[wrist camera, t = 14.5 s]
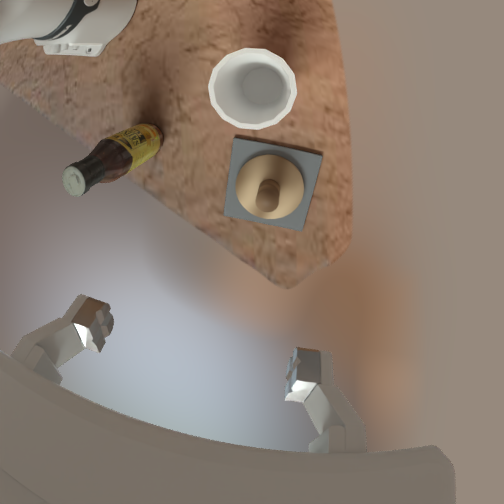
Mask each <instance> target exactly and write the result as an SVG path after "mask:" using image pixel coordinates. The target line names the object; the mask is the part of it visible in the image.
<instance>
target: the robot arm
mask: <svg viewBox="0 0 504 504" xmlns="http://www.w3.org/2000/svg"><path fill="white" fill-rule="evenodd" d="M136 3H137V0H0V44H3V43H6V42H11V41H15V40H21V39H28V38H33V39H34V41H35V44H36V45H37V46H39V45H43V48H44V51H45V53H46V54H56V55H79V56H92V57H96V56H99V55H100V54H101V52H102V51H103V50H104V48H105V46H106V45H107V43H108V42H109V41H110V40H112V39H113V38H114V37H115V36H117V35H118V34H119V33H120V32H121V31H122V30H123V29H124V28H125V26H126V25H127V24H128V22H129V21H130V19H131V17H132V15H133V13H134V10H135V7H136ZM90 49H91V52H90ZM110 309H111V308H110V305H109V304H108V303H105V302H102V301H99V300H96V299H94V298H91V297H88V296H85V295H82V294H80V295H79V296H77V298H76V299H75V301H74V302H73V303H72V305H71V306H70V308H69V309H68V310H67V312H66V313H65V315H64V316H63V318H58V319H56V320H54V321H52V322H50V323H48V324H46V325H44V326H42V327H41V328H38V329H36V330H35V331H33V332H31V333H29V334H27V335H25V336H23V337H22V339H21V340H20V342H19V343H18V345H17V346H16V348H15V349H14V351H13V353H12V354H11V356H9V355H8V354H6V353H5V352H3V351H2V350H0V504H455V502H456V484H455V471H454V466H453V464H452V463H451V461H450V460H449V459H448V458H447V456H446V455H445V454H444V453H443V452H442V451H441V450H440V449H439V448H438V447H437V446H434V445H430V446H423V447H416V448H409V449H401V450H392V451H381V452H367V449H366V448H367V447H366V430H365V424H364V423H363V421H362V420H361V419H360V417H359V416H358V414H357V413H356V412H355V410H354V409H353V407H352V406H351V405H350V403H349V402H348V400H347V399H346V398H345V396H344V395H343V393H342V392H341V391H340V389H339V388H338V386H335V385H334V381H333V363H332V354H331V352H327V351H319V350H315V349H306V348H299V347H296V348H295V349H294V351H293V357H290V359H289V362H288V365H287V370H286V379H287V380H288V382H287V384H286V386H285V396H284V400H288V401H296V402H302V403H303V404H304V406H305V408H306V410H307V412H308V414H309V416H310V418H311V420H312V422H313V423H314V425H315V427H316V429H317V431H318V433H319V435H320V436H319V437H317V438H316V439H315V440H313V441H312V442H311V443H310V444H309V449H308V452H292V451H281V450H270V449H263V448H255V447H247V446H242V445H235V444H230V443H225V442H219V441H214V440H210V439H205V438H201V437H197V436H192V435H188V434H184V433H181V432H177V431H173V430H170V429H166V428H163V427H160V426H156V425H153V424H150V423H147V422H144V421H141V420H138V419H135V418H133V417H130V416H127V415H124V414H122V413H119V412H117V411H114V410H112V409H109V408H107V407H104V406H102V405H100V404H97V403H95V402H92V401H90V400H88V399H86V398H84V397H82V396H80V395H77V394H75V393H73V392H71V391H69V390H67V389H65V388H63V387H61V386H59V385H60V383H61V381H62V376H61V374H60V373H59V371H58V370H57V368H59V367H60V366H61V365H63V364H64V363H66V362H67V361H68V360H70V359H71V358H73V357H74V356H75V355H77V354H78V353H79V352H81V351H82V350H84V349H85V348H87V349H89V350H92V351H95V352H98V353H100V352H101V350H102V348H103V346H104V344H105V337H107V336H109V335H110V333H111V331H112V329H113V325H114V319H113V316H112V314H110V312H109V311H110Z"/></svg>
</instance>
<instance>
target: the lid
mask: <svg viewBox="0 0 504 504" xmlns="http://www.w3.org/2000/svg"><path fill="white" fill-rule="evenodd" d="M235 188H236V194H237V197H238V200H239V202H240V203H241V205H242V206H243V207H244V208H245V209H246V210H247V211H248V212H250V213H251V214H253V215H255V216H257V217H260V218H264V219H277V218H281V217H284V216H287V215H289V214H290V213H292V212H293V211H294V210H295V209H296V208H297V207H298V206H299V204H300V202H301V200H302V198H303V194H304V183H303V178H302V176H301V173H300V171H299V170H298V168H297V167H296V166H295V165H294V164H293V163H292V162H290V161H289V160H287V159H286V158H284V157H281V156H278V155H270V154H267V155H261V156H257V157H255V158H253V159H251V160H249V161H248V162H247V163H246V164H245V165H244V166H243V167H242V168H241V170H240V172H239V174H238V176H237V179H236V185H235Z"/></svg>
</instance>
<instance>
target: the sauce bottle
mask: <svg viewBox="0 0 504 504" xmlns="http://www.w3.org/2000/svg"><path fill="white" fill-rule="evenodd" d="M162 145H163V135H162V133H161V131H160V130H159V129H158V128H157V127H156V126H155V125H153V124H150V123H147V124H139V125H136V126H134V127H131V128H129V129H126V130H123V131H121V132H119V133H116V134H114V135H112V136H110V137H107V138H105V139H103V140H101V141H100V142H99V143H98V144H97V146H96V147H95V148H94V150H93V151H92V152H91V153H90V154H89V155H88V156H87V157H86V158H84V159H83V160H81V161H79V162H75V163H72V164H71V165H69V166H68V167H66V169H65V170H64V172H63V177H62V179H63V184H64V187H65V189H66V190H67V192H68V193H69V194H71V195H72V196H76V197H79V196H81V195H83V194H85V193H86V192H87V191H88V190H89V189H90V187H92V186H93V185H95V184H96V183H99V182H100V183H109V182H113V181H115V180H117V179H118V178H120V177H121V176H124V175H125V174H127V173H128V172H130V171H131V170H133V169H134V168H136V167H137V166H139V165H140V164H142V163H144V162H145V161H147V160H148V159H150V158H152V157H153V156H154V155H155V154H157V153H158V152H159V150H160V149H161V147H162Z"/></svg>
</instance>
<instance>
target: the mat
mask: <svg viewBox="0 0 504 504" xmlns="http://www.w3.org/2000/svg"><path fill="white" fill-rule="evenodd" d="M267 154H270V155H278V156H281V157H284V158H286V159H287V160H289V161H290V162H292V163H293V164H294V165H295V166H296V167H297V168H298V170H299V171H300V173H301V176H302V178H303V183H304V194H303V198H302V200H301V202H300V204H299V206H298V207H297V208H296V209H295V210H294V211H293V212H292V213H290V214H289V215H287V216H284V217H281V218H277V219H264V218H260V217H257V216H255V215H253V214H251V213H250V212H248V211H247V210H246V209H245V208H244V207H243V206H242V205H241V203H240V202H239V200H238V197H237V194H236V188H235V185H236V179H237V176H238V174H239V172H240V170H241V168H242V167H243V166H244V165H245V164H246V163H247V162H248V161H249V160H251V159H253V158H255V157H257V156H261V155H267ZM321 160H322V155H319V154H314V153H310V152H306V151H302V150H297V149H293V148H288V147H283V146H278V145H273V144H268V143H263V142H258V141H252V140H246V139H240V138H234V140H233V147H232V154H231V161H230V169H229V176H228V184H227V191H226V199H225V207H224V216H229V217H234V218H239V219H244V220H249V221H254V222H259V223H264V224H269V225H274V226H279V227H283V228H288V229H293V230H298V231H302V229H303V226H304V222H305V219H306V215H307V212H308V208H309V205H310V201H311V197H312V194H313V190H314V187H315V183H316V179H317V175H318V172H319V168H320V164H321Z"/></svg>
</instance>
